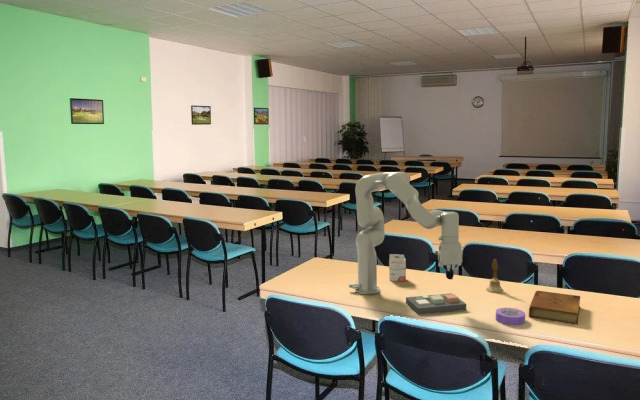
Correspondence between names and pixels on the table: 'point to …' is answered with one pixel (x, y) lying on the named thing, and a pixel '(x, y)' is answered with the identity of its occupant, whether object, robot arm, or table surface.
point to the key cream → (422, 302)
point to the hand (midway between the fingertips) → (449, 278)
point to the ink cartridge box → (397, 268)
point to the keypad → (434, 305)
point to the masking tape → (510, 316)
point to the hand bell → (494, 280)
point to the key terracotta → (451, 298)
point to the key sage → (436, 299)
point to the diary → (555, 307)
